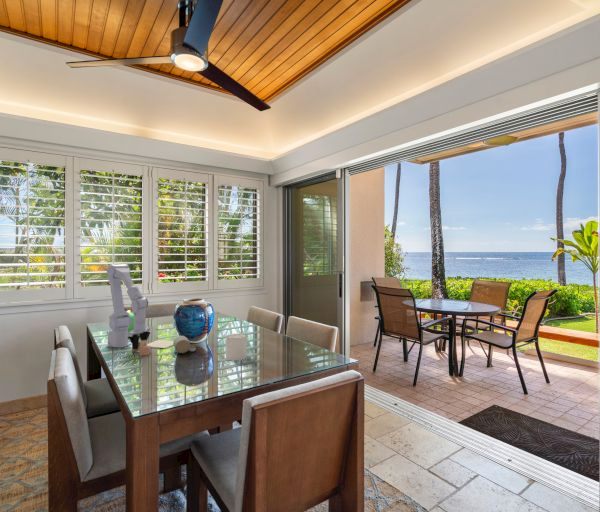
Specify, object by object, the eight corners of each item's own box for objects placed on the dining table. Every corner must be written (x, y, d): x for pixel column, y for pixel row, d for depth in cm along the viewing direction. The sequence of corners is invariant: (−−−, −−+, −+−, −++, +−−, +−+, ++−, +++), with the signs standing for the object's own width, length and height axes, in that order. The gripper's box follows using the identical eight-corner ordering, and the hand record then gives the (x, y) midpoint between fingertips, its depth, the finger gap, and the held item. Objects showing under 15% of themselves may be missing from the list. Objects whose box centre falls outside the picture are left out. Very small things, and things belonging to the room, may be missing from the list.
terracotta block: (139, 356, 178) (139, 347, 178) (142, 353, 182) (142, 345, 182) (147, 355, 178) (148, 347, 178) (150, 353, 182) (150, 345, 182)
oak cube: (131, 351, 186) (131, 341, 186) (138, 348, 191) (138, 339, 191) (140, 352, 185) (140, 342, 185) (146, 349, 190) (146, 340, 190)
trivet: (142, 347, 194) (142, 345, 194) (158, 340, 208) (158, 339, 208) (165, 348, 191) (165, 347, 191) (180, 342, 205) (180, 341, 205)
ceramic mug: (175, 355, 180) (175, 339, 180) (173, 350, 187) (173, 336, 187) (197, 352, 185) (197, 337, 185) (194, 349, 192) (194, 334, 192)
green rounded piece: (142, 330, 234) (142, 308, 234) (146, 336, 220) (146, 311, 220) (110, 333, 225) (110, 310, 225) (112, 339, 211) (112, 314, 211)
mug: (224, 353, 184) (224, 332, 183) (245, 352, 186) (245, 331, 186) (226, 361, 170) (226, 338, 170) (247, 360, 173) (248, 337, 173)
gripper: (136, 324, 180) (136, 351, 180) (155, 319, 194) (155, 344, 194) (124, 323, 182) (124, 350, 182) (143, 318, 196) (143, 343, 196)
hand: (139, 347), depth 188 cm, fingers open, 6 cm apart
